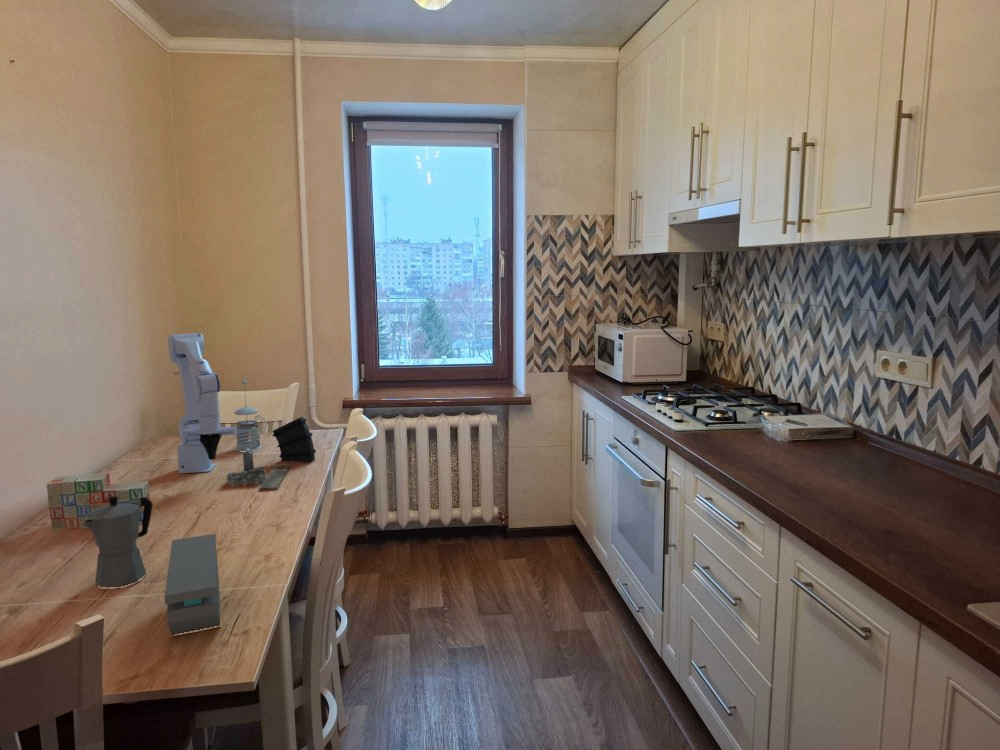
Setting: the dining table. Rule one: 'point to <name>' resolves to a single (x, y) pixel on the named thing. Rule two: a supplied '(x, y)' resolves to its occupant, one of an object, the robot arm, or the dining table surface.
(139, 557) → the coffeepot
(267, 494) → the dining table surface
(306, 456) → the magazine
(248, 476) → the egg carton
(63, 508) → the stack of blocks
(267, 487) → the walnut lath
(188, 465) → the robot arm
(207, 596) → the grey slotted box
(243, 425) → the french press
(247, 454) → the awl peg
